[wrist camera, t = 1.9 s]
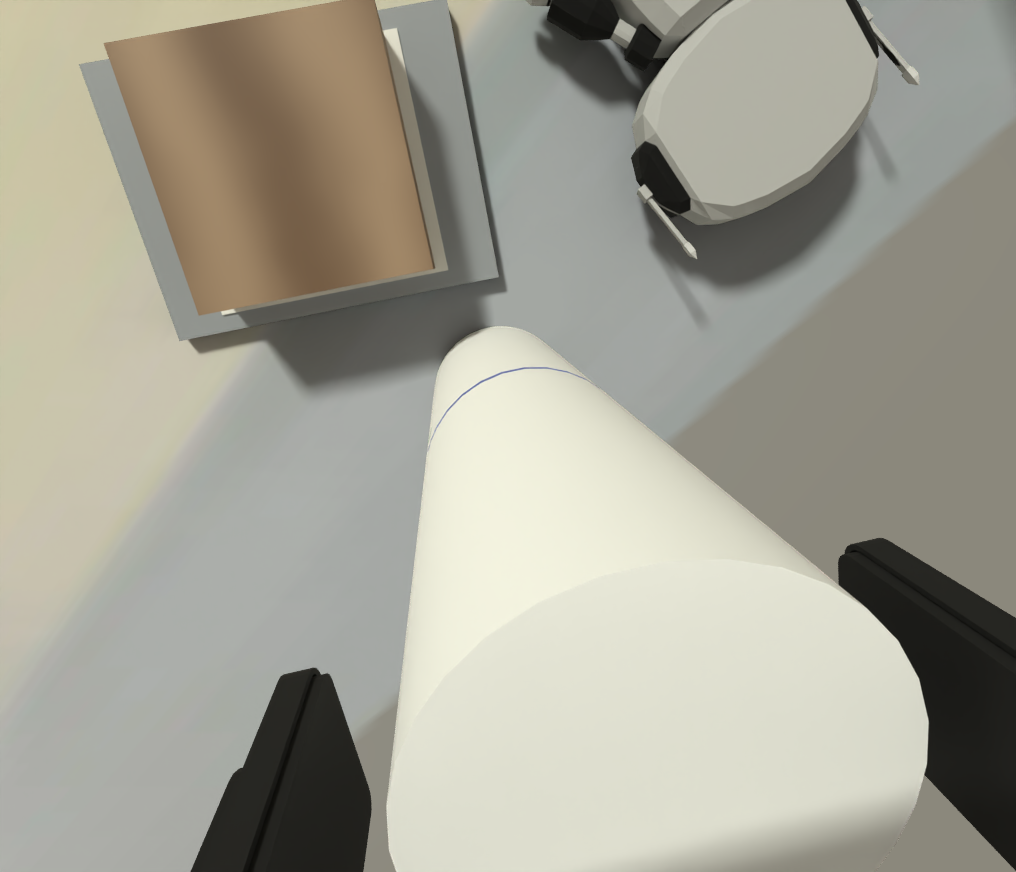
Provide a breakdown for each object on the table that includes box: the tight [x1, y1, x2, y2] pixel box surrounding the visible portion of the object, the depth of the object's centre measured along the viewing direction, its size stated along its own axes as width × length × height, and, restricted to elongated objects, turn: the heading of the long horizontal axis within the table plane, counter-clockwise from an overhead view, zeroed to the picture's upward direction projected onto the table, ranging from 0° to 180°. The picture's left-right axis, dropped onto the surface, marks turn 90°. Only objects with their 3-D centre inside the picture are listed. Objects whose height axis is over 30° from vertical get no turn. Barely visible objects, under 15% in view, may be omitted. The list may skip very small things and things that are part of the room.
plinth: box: [104, 0, 435, 316], centre depth 25 cm, size 10×10×4 cm
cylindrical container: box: [386, 326, 929, 872], centre depth 19 cm, size 7×7×25 cm
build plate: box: [79, 0, 499, 341], centre depth 27 cm, size 16×12×1 cm
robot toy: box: [526, 0, 919, 259], centre depth 26 cm, size 12×4×15 cm
